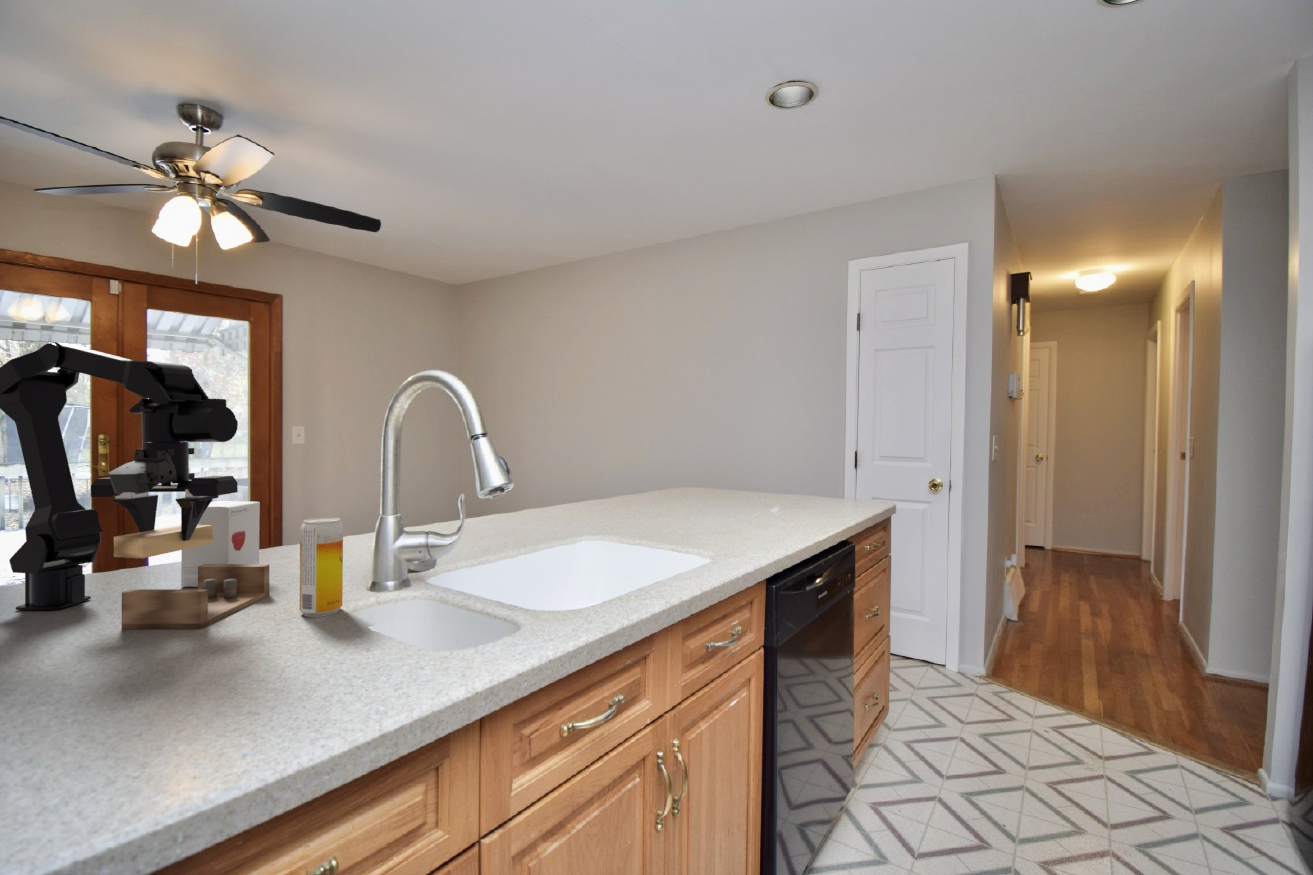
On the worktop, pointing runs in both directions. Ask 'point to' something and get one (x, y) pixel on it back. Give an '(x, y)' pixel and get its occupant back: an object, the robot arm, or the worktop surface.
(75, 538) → the robot arm
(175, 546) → the shelf board
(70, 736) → the worktop surface
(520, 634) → the worktop surface
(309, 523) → the beer can
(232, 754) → the worktop surface
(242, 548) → the supplement box
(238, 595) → the peg frame
